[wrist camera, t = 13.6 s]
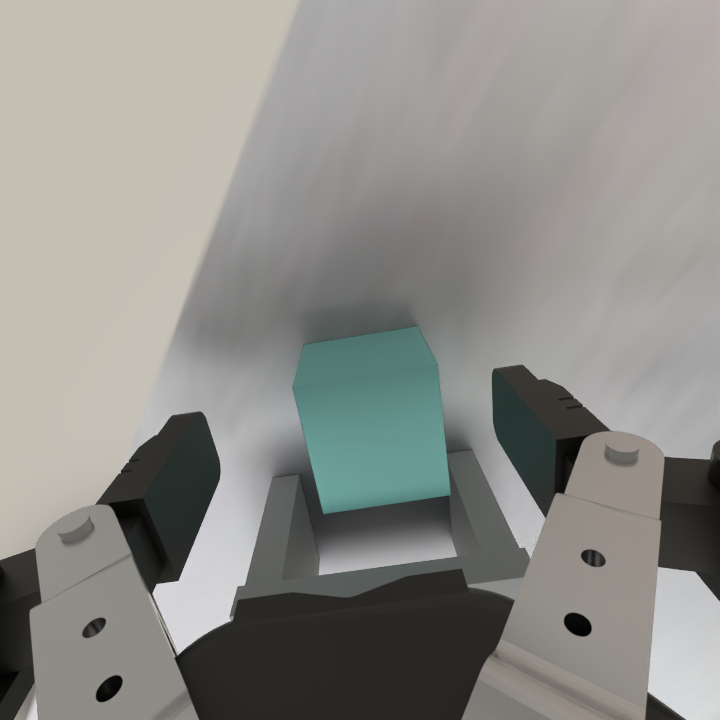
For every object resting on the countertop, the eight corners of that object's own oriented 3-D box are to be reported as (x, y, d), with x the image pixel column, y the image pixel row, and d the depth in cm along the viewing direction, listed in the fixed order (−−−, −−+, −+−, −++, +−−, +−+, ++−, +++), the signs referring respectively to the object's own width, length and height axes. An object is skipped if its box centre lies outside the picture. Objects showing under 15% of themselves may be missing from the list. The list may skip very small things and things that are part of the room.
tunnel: (471, 439, 19) (538, 575, 12) (477, 544, 21) (537, 705, 14) (269, 468, 19) (229, 616, 12) (297, 568, 21) (275, 738, 15)
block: (417, 325, 17) (437, 363, 13) (429, 433, 19) (450, 495, 15) (304, 343, 17) (292, 386, 13) (328, 449, 19) (323, 514, 15)
